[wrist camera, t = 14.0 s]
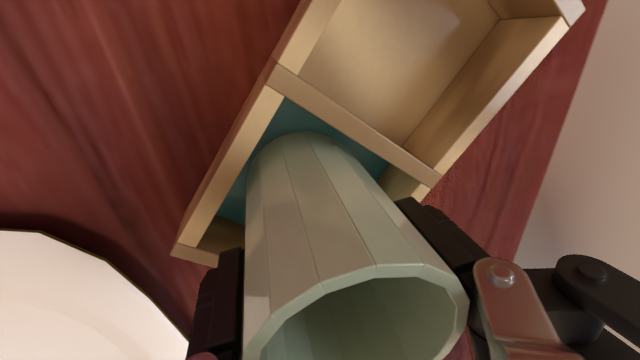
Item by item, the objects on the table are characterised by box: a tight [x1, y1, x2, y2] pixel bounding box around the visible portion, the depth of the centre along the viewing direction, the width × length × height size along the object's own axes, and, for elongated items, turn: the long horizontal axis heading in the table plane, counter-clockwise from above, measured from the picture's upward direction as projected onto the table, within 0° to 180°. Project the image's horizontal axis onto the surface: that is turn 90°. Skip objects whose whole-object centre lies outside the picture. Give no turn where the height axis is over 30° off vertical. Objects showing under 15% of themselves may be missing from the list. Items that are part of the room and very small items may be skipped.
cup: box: [240, 131, 470, 360], centre depth 11 cm, size 6×6×9 cm
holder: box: [170, 0, 585, 268], centre depth 12 cm, size 17×9×3 cm, turn 146°
